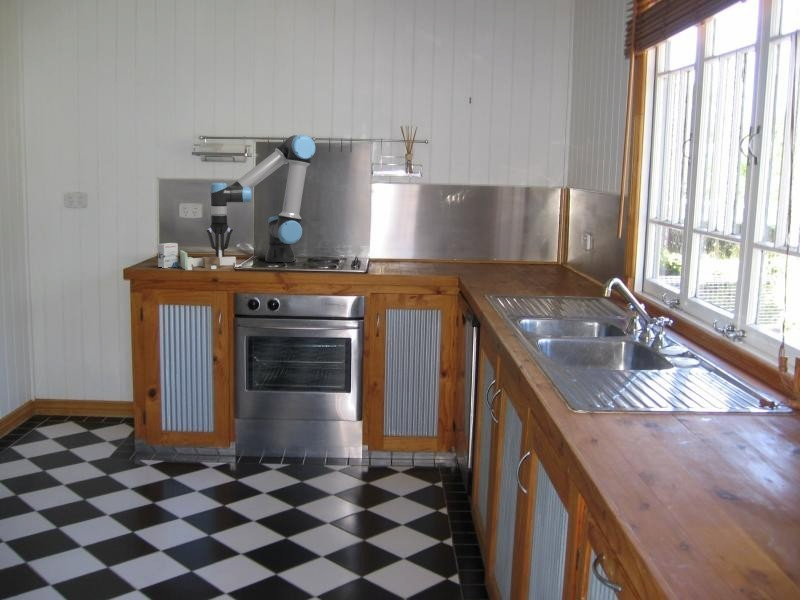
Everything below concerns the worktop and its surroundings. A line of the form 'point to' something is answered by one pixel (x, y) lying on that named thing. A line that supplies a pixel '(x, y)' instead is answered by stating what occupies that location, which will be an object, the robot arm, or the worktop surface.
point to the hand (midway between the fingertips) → (220, 263)
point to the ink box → (168, 255)
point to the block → (211, 261)
